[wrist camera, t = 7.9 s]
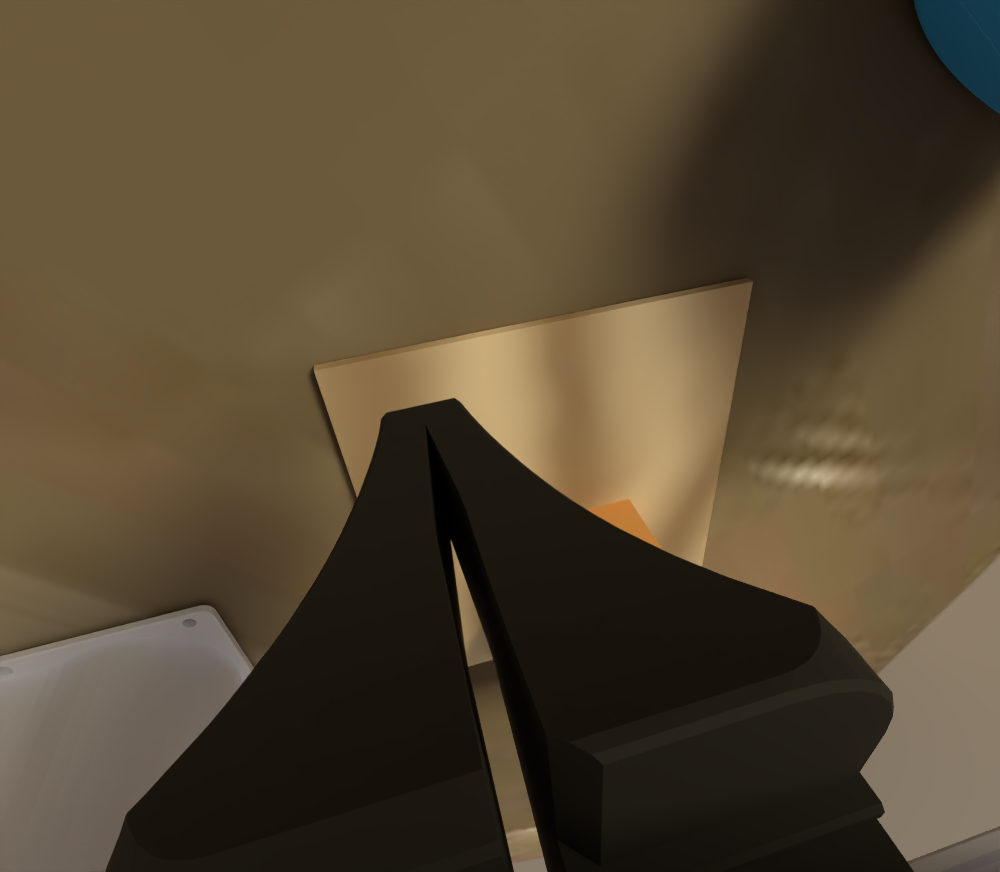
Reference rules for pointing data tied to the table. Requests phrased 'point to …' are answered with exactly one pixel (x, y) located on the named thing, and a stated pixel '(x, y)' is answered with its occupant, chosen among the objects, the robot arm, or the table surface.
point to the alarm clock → (966, 42)
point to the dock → (575, 407)
